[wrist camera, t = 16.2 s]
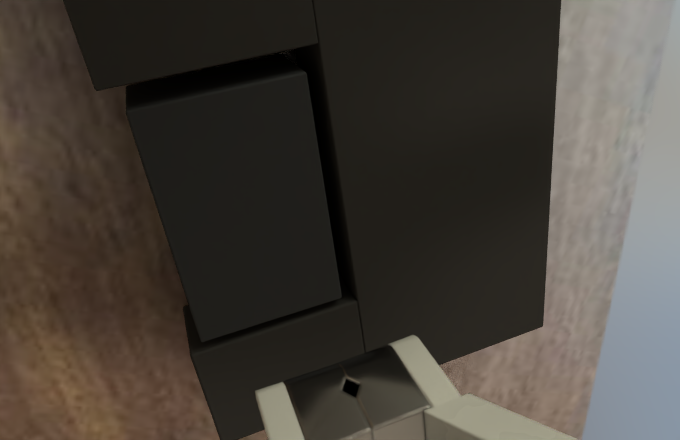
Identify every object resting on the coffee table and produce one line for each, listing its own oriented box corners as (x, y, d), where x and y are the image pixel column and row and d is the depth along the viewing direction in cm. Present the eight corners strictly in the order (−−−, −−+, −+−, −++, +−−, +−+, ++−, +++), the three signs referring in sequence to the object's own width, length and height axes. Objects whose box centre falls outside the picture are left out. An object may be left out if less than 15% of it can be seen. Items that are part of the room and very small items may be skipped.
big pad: (40, -104, 14) (21, -114, 12) (507, -167, 18) (572, -185, 15) (211, 391, 23) (222, 446, 21) (503, 289, 26) (543, 326, 24)
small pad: (124, 85, 17) (125, 111, 14) (281, 53, 18) (306, 71, 16) (192, 294, 21) (201, 343, 18) (317, 257, 22) (342, 298, 20)
